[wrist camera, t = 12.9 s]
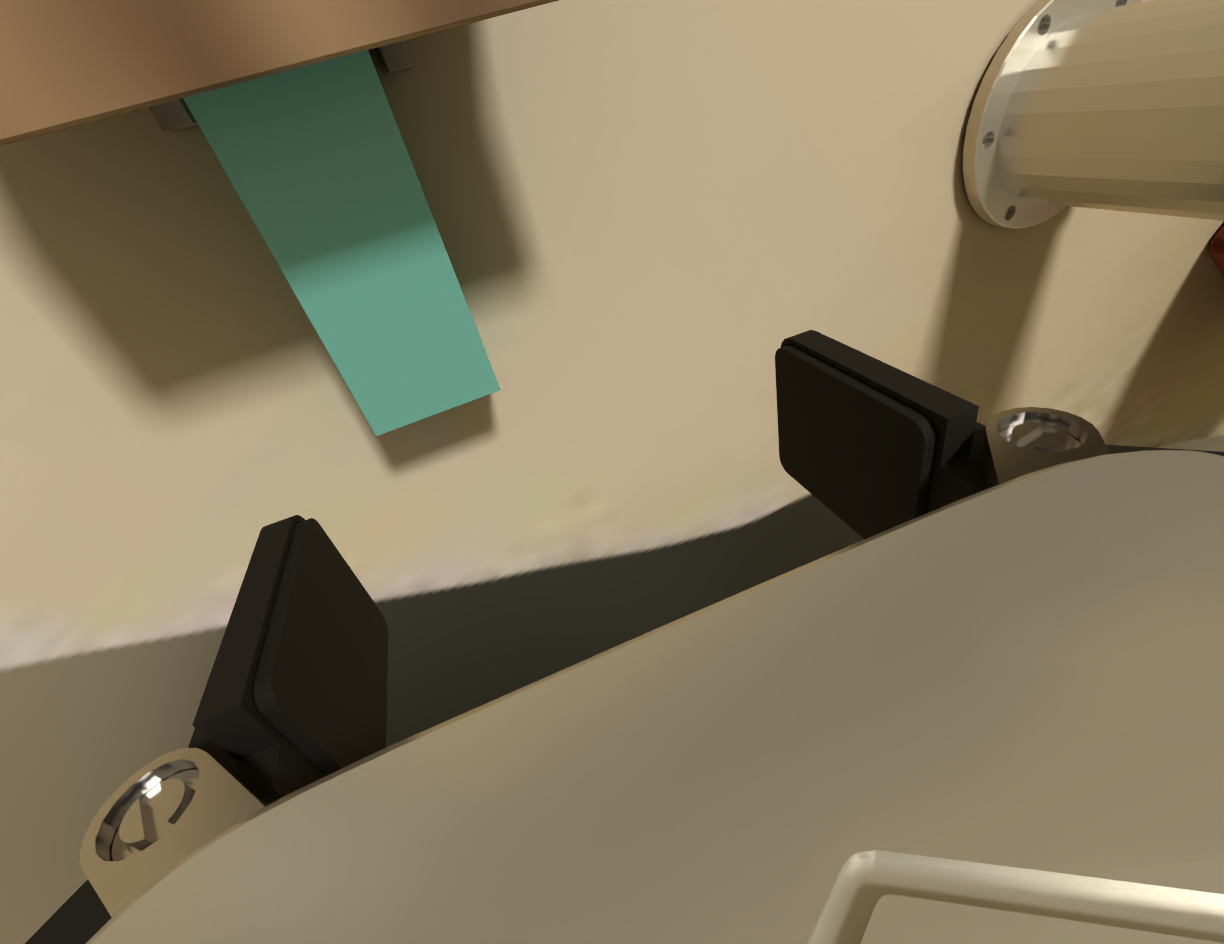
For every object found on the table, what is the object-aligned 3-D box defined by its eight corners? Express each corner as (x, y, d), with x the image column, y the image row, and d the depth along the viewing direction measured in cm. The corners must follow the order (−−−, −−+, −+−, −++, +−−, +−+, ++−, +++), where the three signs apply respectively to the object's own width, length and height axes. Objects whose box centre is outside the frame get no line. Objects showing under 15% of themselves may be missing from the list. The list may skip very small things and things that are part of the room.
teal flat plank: (301, -111, 19) (285, -164, 15) (487, 362, 29) (500, 389, 26) (115, -74, 18) (57, -122, 14) (376, 402, 28) (376, 436, 25)
